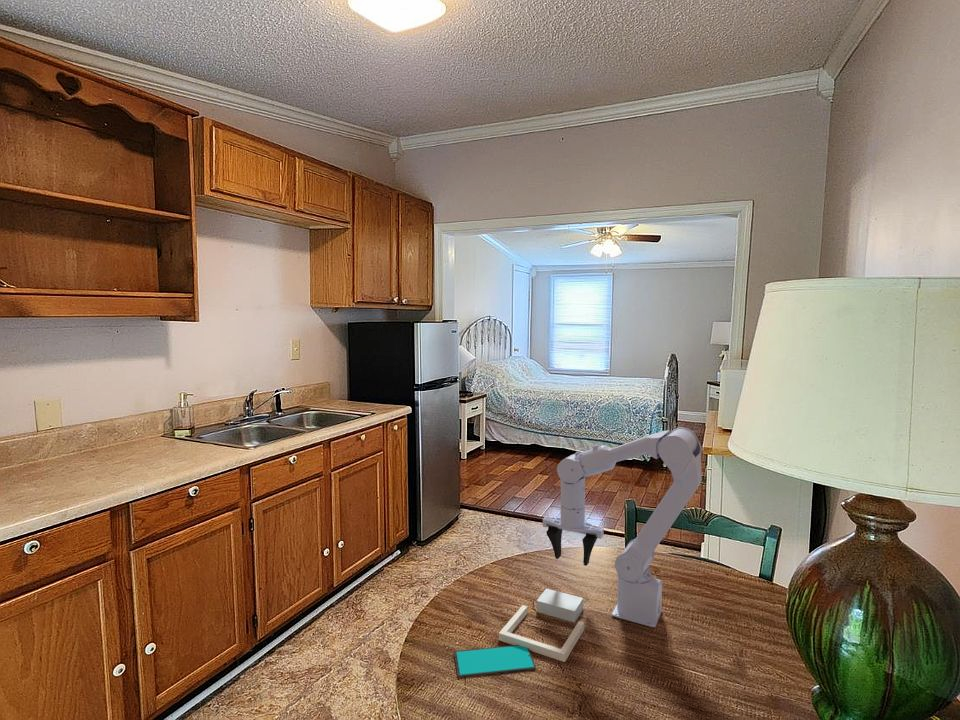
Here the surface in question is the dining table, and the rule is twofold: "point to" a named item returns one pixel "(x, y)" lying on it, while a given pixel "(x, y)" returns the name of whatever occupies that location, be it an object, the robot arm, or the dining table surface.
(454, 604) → the dining table surface
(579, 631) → the cream u-shaped bracket
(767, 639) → the dining table surface
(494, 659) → the smartphone
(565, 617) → the light gray box
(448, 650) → the dining table surface
